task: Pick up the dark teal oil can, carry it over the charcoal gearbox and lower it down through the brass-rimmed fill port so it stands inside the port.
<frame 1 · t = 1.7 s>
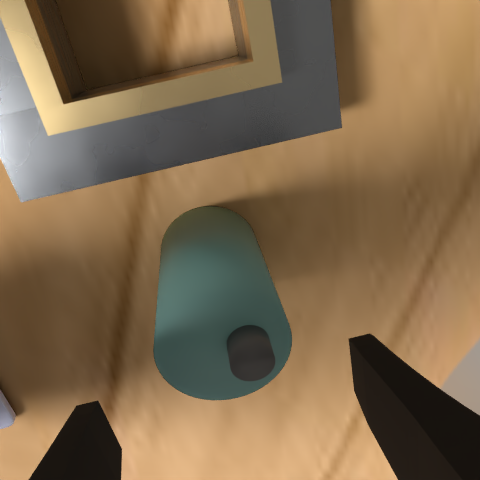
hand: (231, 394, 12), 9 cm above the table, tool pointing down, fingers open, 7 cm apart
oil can: (209, 250, 20), on the table
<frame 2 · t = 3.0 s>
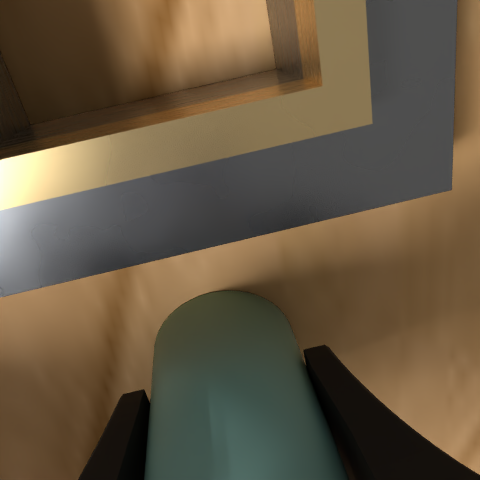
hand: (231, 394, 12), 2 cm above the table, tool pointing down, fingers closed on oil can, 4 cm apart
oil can: (225, 349, 14), on the table, touching gripper
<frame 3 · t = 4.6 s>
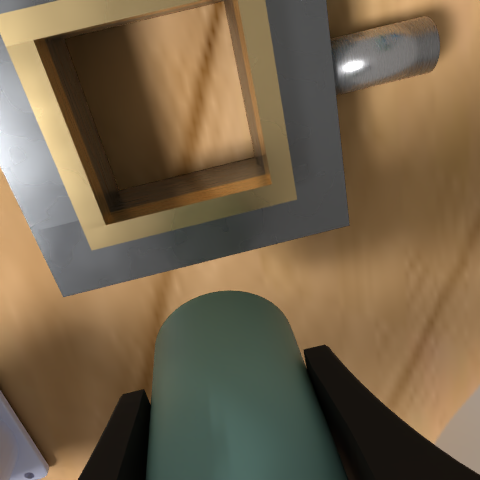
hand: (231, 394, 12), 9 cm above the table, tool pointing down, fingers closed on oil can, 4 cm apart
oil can: (225, 349, 14), point 7 cm above the table, touching gripper
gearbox: (167, 102, 17), on the table
when the fingers open (4 cm above the table, at t = 6.7 s): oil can drops 2 cm, resting in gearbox.
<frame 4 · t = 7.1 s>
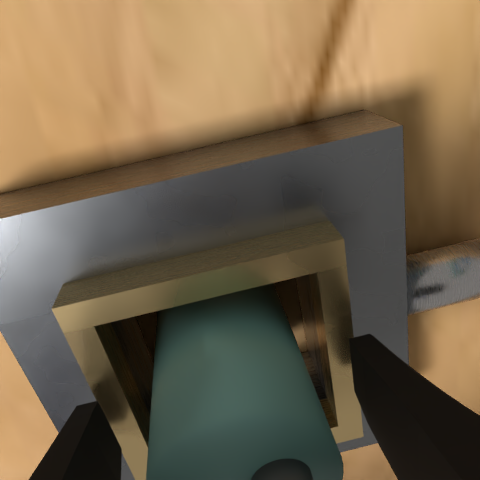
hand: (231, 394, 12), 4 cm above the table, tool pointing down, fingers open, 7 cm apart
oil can: (219, 310, 16), resting in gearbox
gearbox: (219, 309, 16), on the table
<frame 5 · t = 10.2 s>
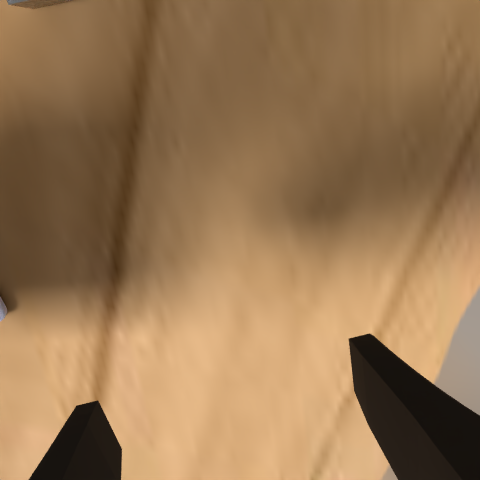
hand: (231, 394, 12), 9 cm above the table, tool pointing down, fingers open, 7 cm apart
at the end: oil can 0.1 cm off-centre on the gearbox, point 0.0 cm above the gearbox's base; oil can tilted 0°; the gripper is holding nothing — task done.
